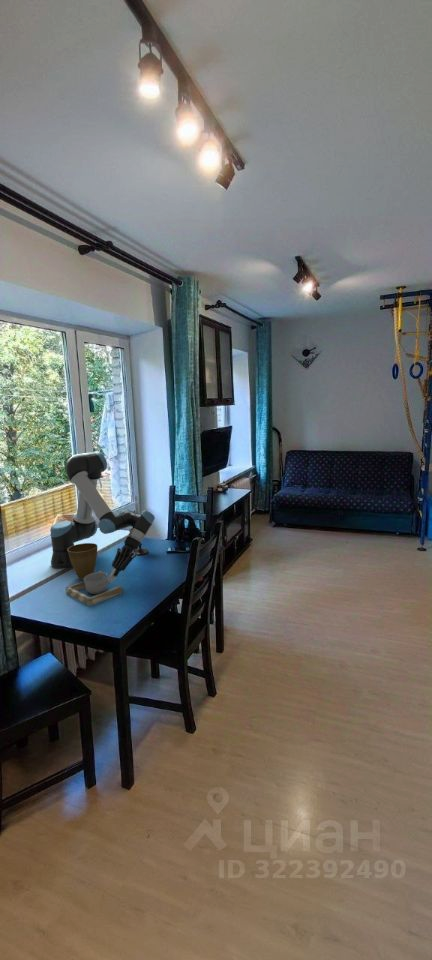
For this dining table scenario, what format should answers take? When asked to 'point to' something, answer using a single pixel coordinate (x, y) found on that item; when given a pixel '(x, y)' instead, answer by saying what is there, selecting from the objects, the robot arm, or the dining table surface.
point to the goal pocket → (95, 599)
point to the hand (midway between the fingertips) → (109, 581)
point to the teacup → (96, 582)
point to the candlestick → (140, 550)
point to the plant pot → (83, 558)
